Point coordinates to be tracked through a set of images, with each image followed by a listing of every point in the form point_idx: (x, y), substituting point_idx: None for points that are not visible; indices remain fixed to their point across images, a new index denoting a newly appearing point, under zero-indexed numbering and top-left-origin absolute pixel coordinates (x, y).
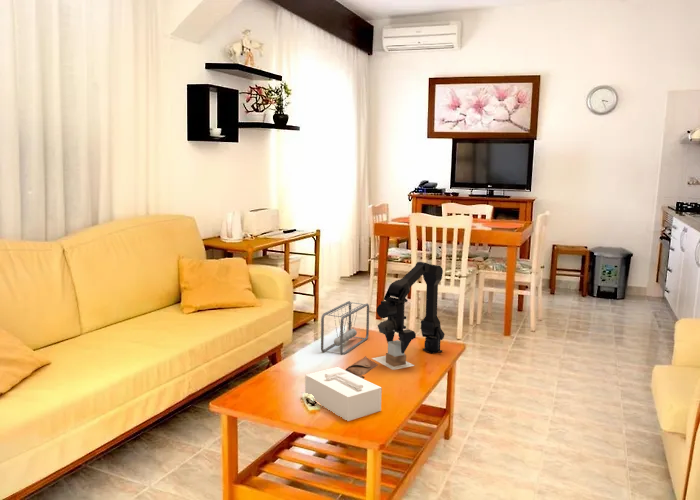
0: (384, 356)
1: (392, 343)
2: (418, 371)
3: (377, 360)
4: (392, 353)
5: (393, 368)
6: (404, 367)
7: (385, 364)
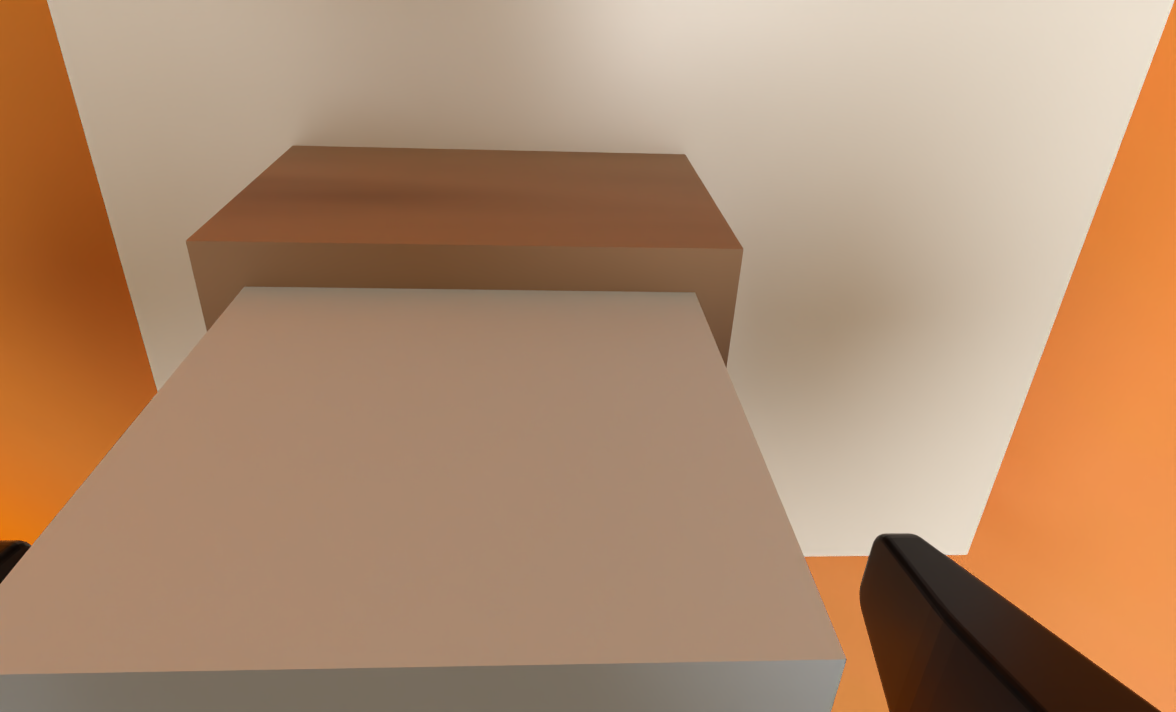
0: (1005, 363)
1: (337, 697)
2: (9, 482)
3: (932, 38)
4: (369, 324)
5: (154, 39)
6: (148, 332)
7: (542, 36)
